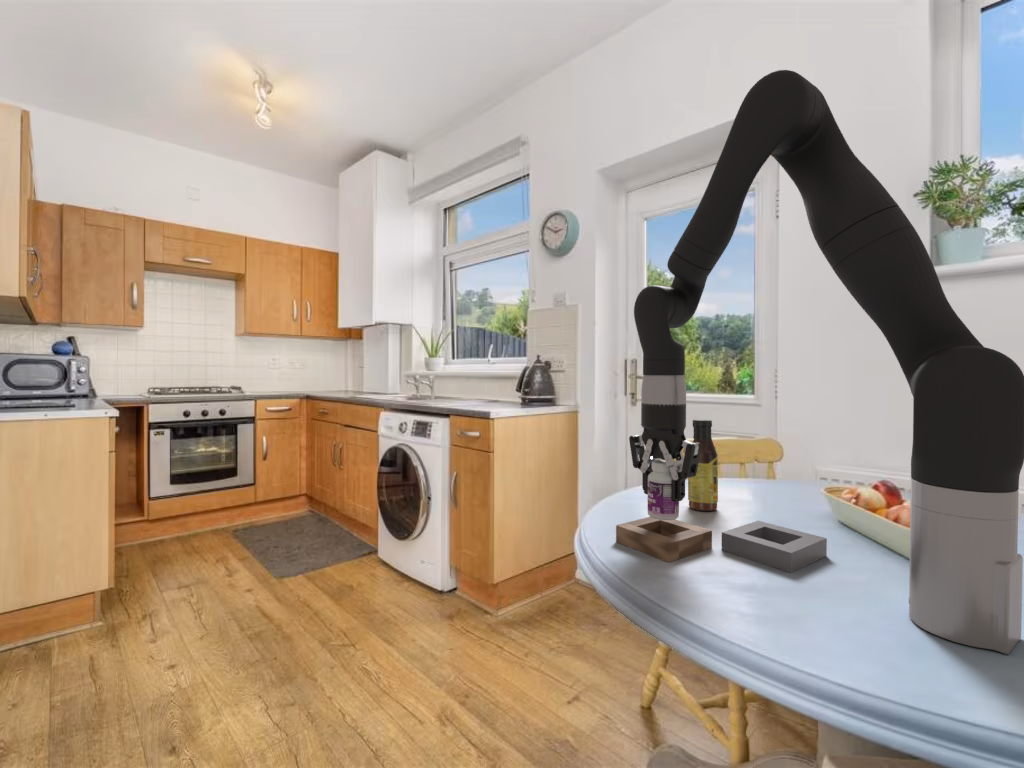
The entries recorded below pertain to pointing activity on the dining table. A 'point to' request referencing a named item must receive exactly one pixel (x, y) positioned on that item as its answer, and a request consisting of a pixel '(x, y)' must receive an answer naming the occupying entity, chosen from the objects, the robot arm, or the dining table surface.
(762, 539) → the grey square frame
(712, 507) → the sauce bottle
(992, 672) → the dining table surface
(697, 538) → the dock
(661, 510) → the pill bottle
